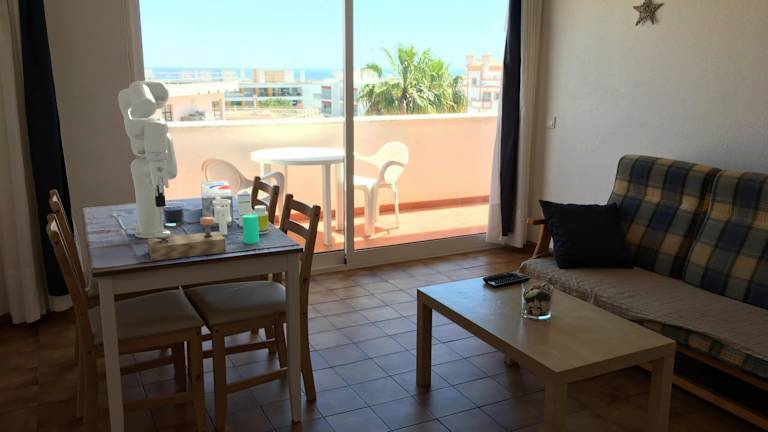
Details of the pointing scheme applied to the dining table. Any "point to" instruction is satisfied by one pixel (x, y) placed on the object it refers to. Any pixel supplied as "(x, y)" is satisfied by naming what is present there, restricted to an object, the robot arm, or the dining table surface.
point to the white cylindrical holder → (222, 214)
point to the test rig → (186, 246)
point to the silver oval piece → (163, 235)
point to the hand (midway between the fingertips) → (160, 206)
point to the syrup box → (244, 205)
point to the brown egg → (207, 224)
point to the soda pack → (211, 192)
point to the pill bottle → (262, 219)
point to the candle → (250, 229)
